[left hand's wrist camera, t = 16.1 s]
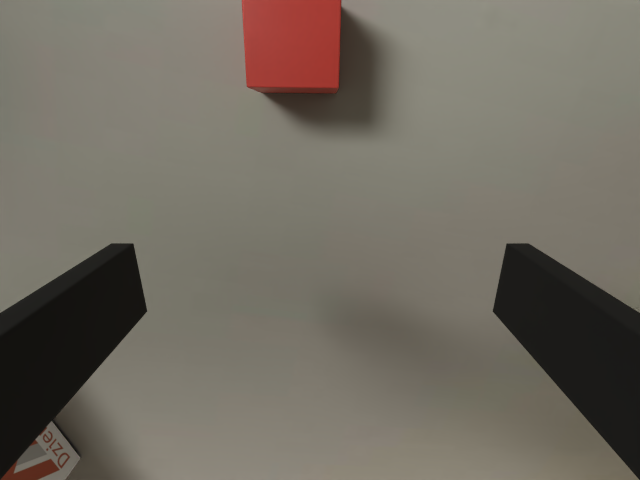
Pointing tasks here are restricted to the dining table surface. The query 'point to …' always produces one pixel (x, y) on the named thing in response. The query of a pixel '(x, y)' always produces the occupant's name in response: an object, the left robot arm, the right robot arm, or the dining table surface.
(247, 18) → the brick
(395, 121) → the dining table surface
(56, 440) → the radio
